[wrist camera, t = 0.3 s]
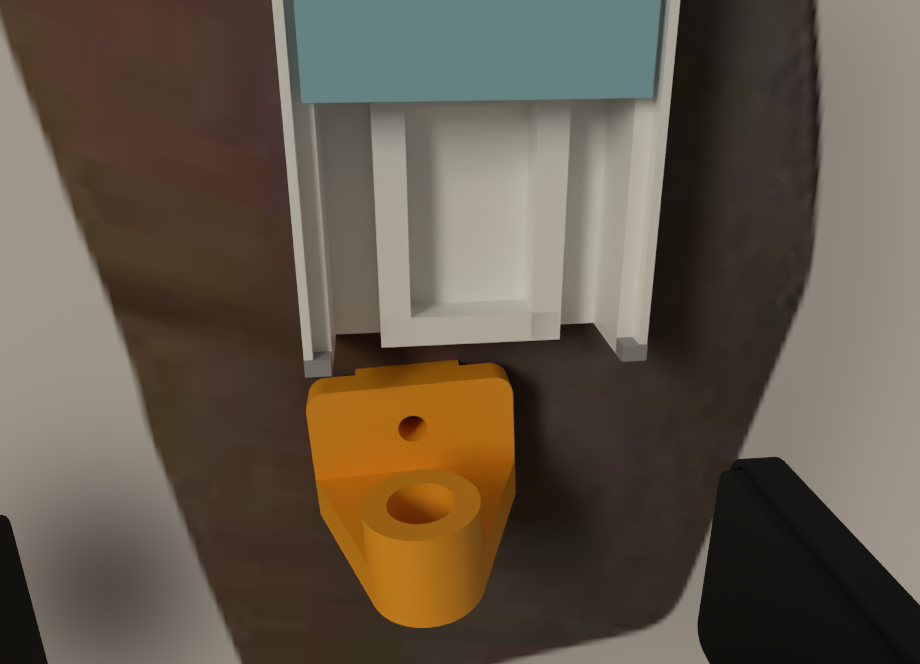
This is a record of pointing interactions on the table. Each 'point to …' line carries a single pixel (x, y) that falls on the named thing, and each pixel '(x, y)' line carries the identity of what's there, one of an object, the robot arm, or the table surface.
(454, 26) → the lid
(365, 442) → the bracket
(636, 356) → the housing
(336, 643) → the table surface
